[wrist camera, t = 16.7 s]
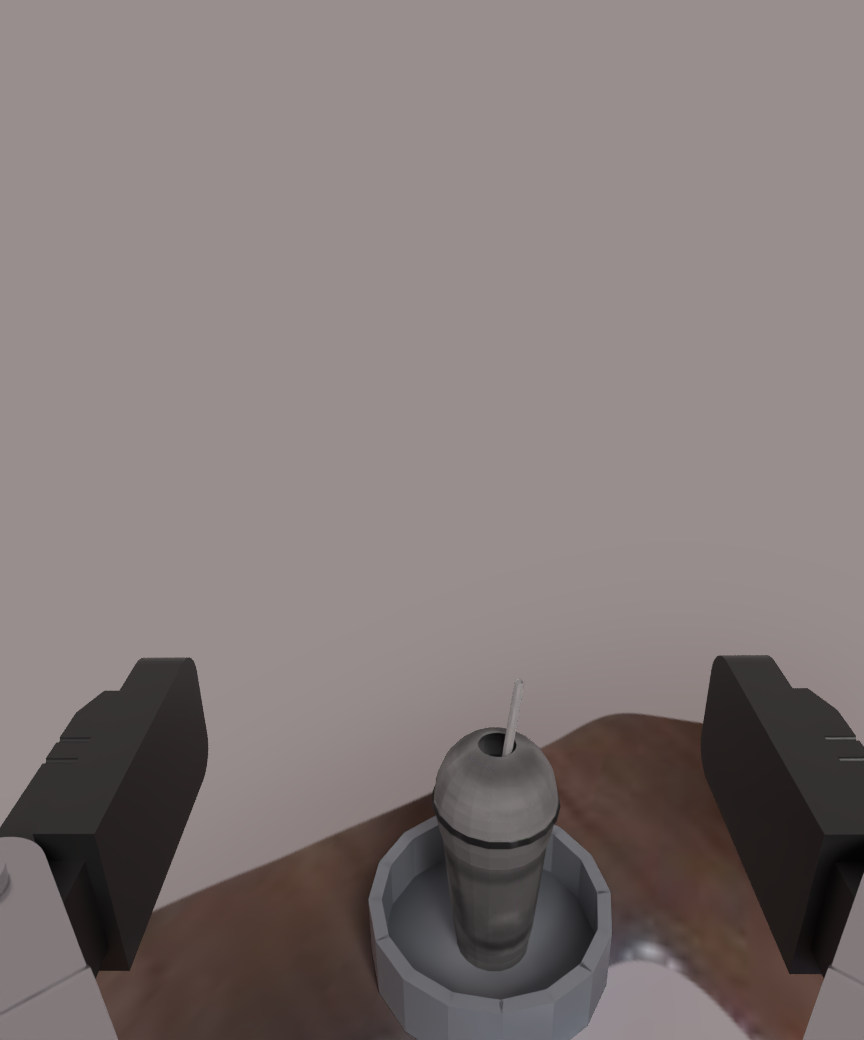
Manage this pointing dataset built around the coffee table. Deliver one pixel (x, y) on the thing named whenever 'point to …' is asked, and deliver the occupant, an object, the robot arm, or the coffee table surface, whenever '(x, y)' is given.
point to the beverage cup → (495, 837)
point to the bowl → (476, 992)
